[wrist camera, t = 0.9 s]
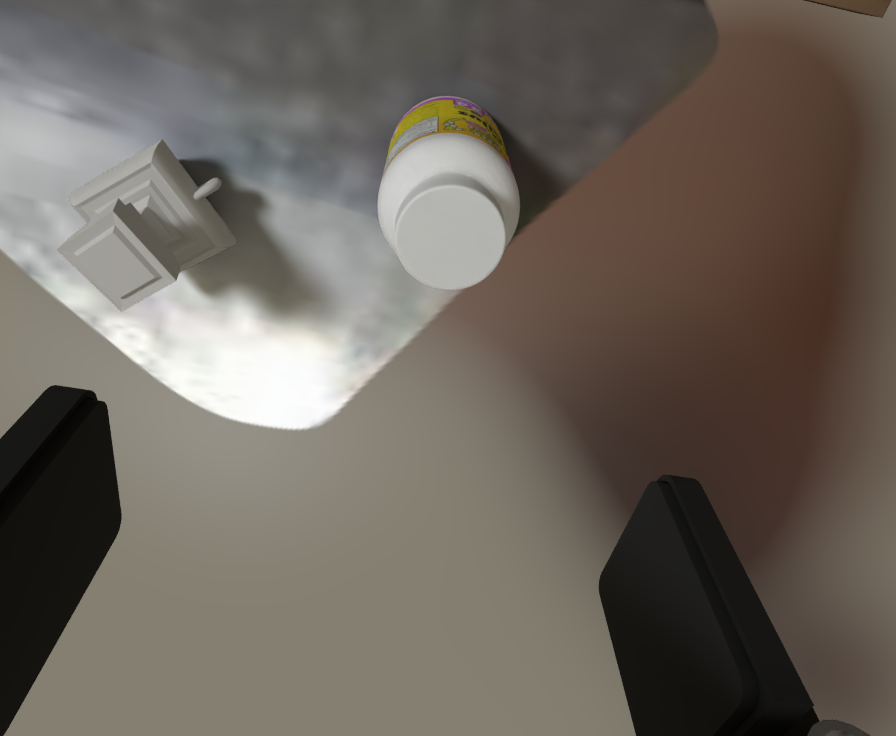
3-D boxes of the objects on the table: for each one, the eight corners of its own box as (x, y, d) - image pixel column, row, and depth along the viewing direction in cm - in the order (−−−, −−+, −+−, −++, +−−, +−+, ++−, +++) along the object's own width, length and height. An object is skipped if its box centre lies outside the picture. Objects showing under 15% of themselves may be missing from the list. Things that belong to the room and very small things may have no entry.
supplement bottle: (523, 170, 36) (558, 265, 26) (430, 227, 38) (428, 336, 28) (464, 66, 33) (478, 126, 22) (366, 134, 35) (337, 219, 24)
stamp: (193, 116, 34) (132, 161, 27) (264, 216, 38) (227, 279, 31) (75, 187, 36) (-9, 246, 29) (152, 276, 40) (94, 346, 33)
